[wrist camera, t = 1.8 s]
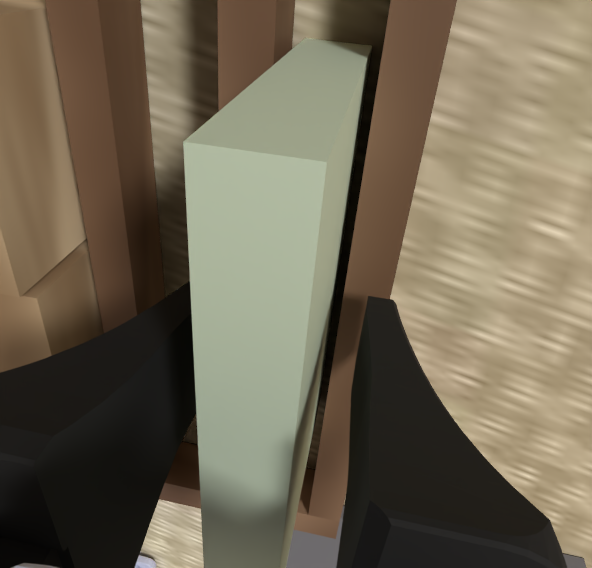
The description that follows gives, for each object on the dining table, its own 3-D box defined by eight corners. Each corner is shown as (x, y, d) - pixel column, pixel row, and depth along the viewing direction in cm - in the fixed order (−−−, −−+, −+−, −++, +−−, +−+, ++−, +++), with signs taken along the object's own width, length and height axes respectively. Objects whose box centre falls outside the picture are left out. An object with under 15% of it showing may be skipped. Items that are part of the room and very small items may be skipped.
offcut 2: (59, 350, 20) (-9, 429, 17) (26, 214, 17) (-69, 279, 13) (131, 365, 20) (75, 448, 16) (112, 228, 16) (36, 298, 13)
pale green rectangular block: (277, 390, 19) (206, 625, 12) (305, 37, 12) (183, 142, 6) (319, 398, 19) (270, 642, 12) (372, 45, 12) (326, 162, 5)
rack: (43, 429, 23) (15, 466, 21) (-181, -302, 10) (-293, -350, 9) (341, 493, 21) (335, 539, 20) (506, -271, 9) (529, -322, 7)
